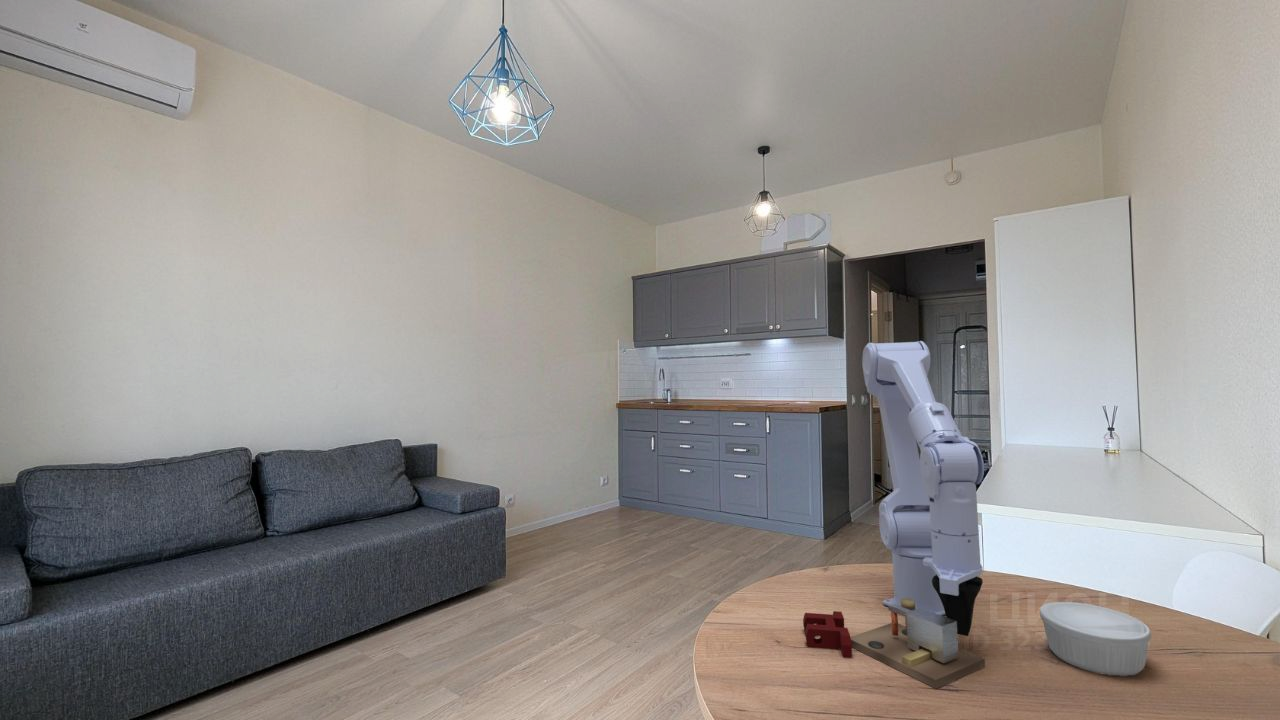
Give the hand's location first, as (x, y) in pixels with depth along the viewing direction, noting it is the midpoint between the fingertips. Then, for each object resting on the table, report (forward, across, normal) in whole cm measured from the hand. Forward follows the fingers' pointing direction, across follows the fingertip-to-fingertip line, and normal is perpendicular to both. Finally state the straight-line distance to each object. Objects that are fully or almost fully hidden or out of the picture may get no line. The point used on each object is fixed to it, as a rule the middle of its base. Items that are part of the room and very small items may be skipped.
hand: (960, 632), depth 74 cm
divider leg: (+1, +5, -4) cm, 6 cm away
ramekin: (+3, -7, +14) cm, 16 cm away
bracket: (+3, +7, -16) cm, 18 cm away
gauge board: (+2, +5, -5) cm, 7 cm away
